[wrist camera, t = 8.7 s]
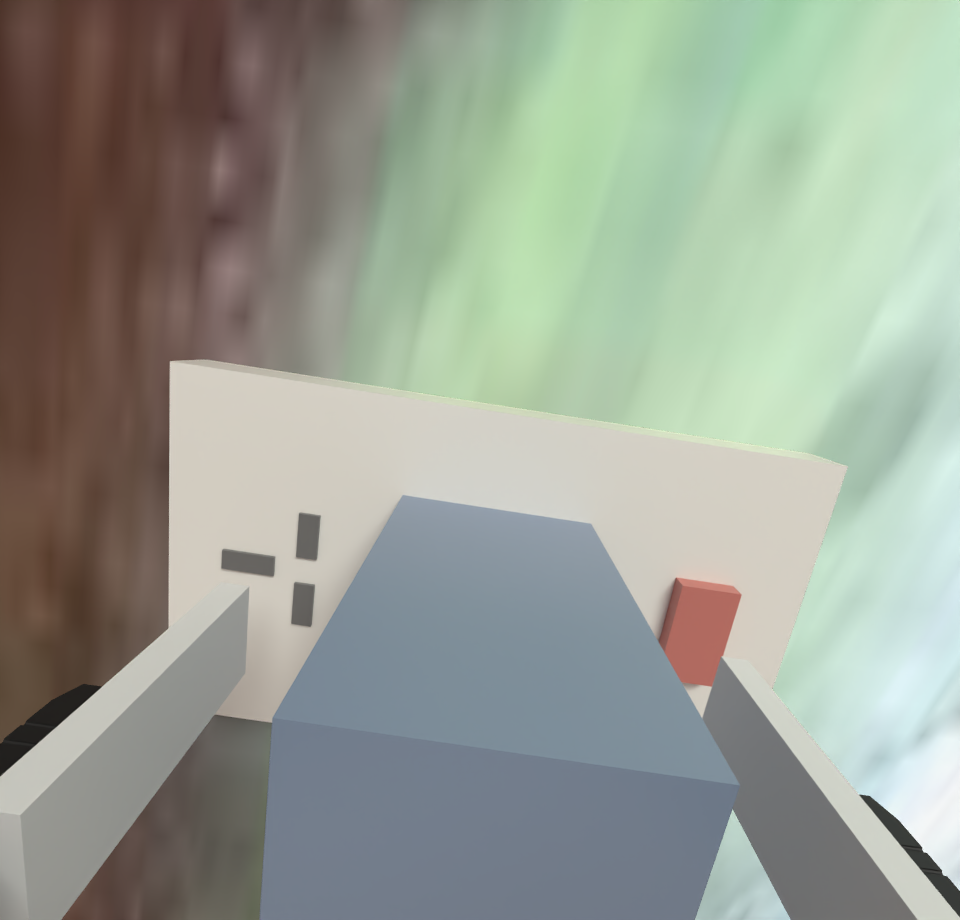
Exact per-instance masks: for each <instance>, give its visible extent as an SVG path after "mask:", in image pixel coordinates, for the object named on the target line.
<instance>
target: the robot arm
mask: <svg viewBox="0 0 960 920" xmlns="http://www.w3.org/2000/svg"><path fill="white" fill-rule="evenodd" d="M248 607H249V586H245V585H238V584H231V583H224V582H221V583H220V584H219V585H218V586H216V587H215V588H214V589H213V590H212V591H211V592H210V593H209V594H207V595H206V596H205V597H204V598H203V599H202V600H201V601H199V602H198V603H197V604H196V605H195V606H194V607H193V608H191V609H190V610H189V611H188V612H187V613H186V614H185V615H183V616H182V617H181V618H180V619H179V620H178V621H177V622H176V623H174V624H173V625H172V626H171V627H170V628H169V629H168V630H166V631H165V632H164V633H163V634H162V635H161V636H160V637H158V638H157V639H156V640H155V641H154V642H153V643H152V644H150V645H149V646H148V647H147V648H146V649H145V650H144V651H143V652H141V653H140V654H139V655H138V656H137V657H136V658H135V659H133V660H132V661H131V662H130V663H129V664H128V665H127V666H125V667H124V668H123V669H122V670H121V671H120V672H119V673H117V674H116V675H115V676H114V677H113V678H112V679H111V680H110V681H108V682H107V683H106V684H105V685H104V686H103V687H100V686H94V685H87V684H83V685H81V686H79V687H77V688H75V689H73V690H71V691H69V692H67V693H65V694H63V695H61V696H59V697H57V698H55V699H53V700H51V701H50V702H49V703H48V704H46V705H45V706H44V707H43V708H42V709H40V710H39V711H38V712H37V713H35V714H34V715H33V716H32V717H30V718H29V719H28V720H27V721H26V723H25V724H24V725H20V726H19V727H18V728H17V729H16V730H14V731H13V732H12V733H11V734H9V735H8V736H7V737H6V738H4V741H3V742H2V743H1V744H0V920H61V919H62V918H63V916H64V915H65V914H66V912H67V911H68V910H69V908H70V907H71V906H72V904H73V903H74V902H75V900H76V899H77V898H78V896H79V895H80V894H81V892H82V891H83V890H84V888H85V887H86V886H87V884H88V883H89V882H90V880H91V879H92V878H93V876H94V875H95V874H96V872H97V871H98V870H99V868H100V867H101V866H102V864H103V863H104V862H105V860H106V859H107V858H108V856H109V855H110V854H111V852H112V851H113V850H114V848H115V847H116V846H117V844H118V843H119V842H120V840H121V839H122V838H123V836H124V835H125V834H126V832H127V831H128V830H129V828H130V827H131V826H132V824H133V823H134V822H135V820H136V819H137V817H138V816H139V815H140V813H141V812H142V811H143V809H144V808H145V807H146V805H147V804H148V803H149V801H150V800H151V799H152V797H153V796H154V795H155V793H156V792H157V791H158V789H159V788H160V787H161V785H162V784H163V783H164V781H165V780H166V779H167V777H168V776H169V775H170V773H171V772H172V771H173V769H174V768H175V767H176V765H177V764H178V763H179V761H180V760H181V759H182V757H183V756H184V755H185V753H186V752H187V751H188V749H189V748H190V747H191V745H192V744H193V743H194V741H195V740H196V739H197V737H198V736H199V735H200V733H201V732H202V731H203V729H204V728H205V727H206V725H207V724H208V723H209V721H210V720H211V719H212V717H213V716H214V715H215V713H216V712H217V711H218V709H219V708H220V707H221V705H222V704H223V702H224V701H225V700H226V698H227V697H228V696H229V694H230V693H231V692H232V690H233V689H234V688H235V686H236V685H237V684H238V682H239V681H240V680H241V678H242V677H243V676H244V674H245V670H246V649H247V628H248ZM702 719H703V721H704V723H705V724H706V726H707V728H708V730H709V731H710V733H711V735H712V737H713V738H714V740H715V742H716V744H717V745H718V747H719V749H720V751H721V753H722V754H723V756H724V758H725V760H726V761H727V763H728V765H729V767H730V768H731V770H732V772H733V774H734V775H735V777H736V779H737V781H738V782H739V784H740V788H739V791H738V794H737V796H736V799H735V802H734V805H733V810H734V812H735V814H736V816H737V818H738V820H739V822H740V824H741V826H742V828H743V829H744V831H745V833H746V835H747V837H748V839H749V841H750V843H751V845H752V847H753V849H754V850H755V852H756V854H757V856H758V858H759V860H760V862H761V864H762V866H763V868H764V869H765V871H766V873H767V875H768V877H769V879H770V881H771V883H772V885H773V887H774V889H775V890H776V892H777V894H778V896H779V898H780V900H781V902H782V904H783V906H784V908H785V909H786V911H787V913H788V915H789V917H790V919H791V920H960V891H959V890H958V889H957V887H956V886H955V885H954V884H953V883H952V882H951V880H950V879H949V878H948V877H947V876H943V874H942V870H941V869H940V868H939V866H938V865H937V864H936V863H935V862H934V861H933V860H932V858H931V857H930V856H929V855H928V854H927V853H924V852H923V851H922V847H921V846H920V844H919V843H918V842H917V841H916V840H915V839H914V837H913V836H912V835H911V834H910V833H909V832H908V831H907V829H906V828H905V827H904V826H903V825H902V824H901V822H900V821H899V820H898V819H896V818H895V817H894V816H893V815H892V814H890V813H889V812H888V811H887V810H886V809H884V808H883V807H882V806H881V805H880V804H878V803H877V802H876V801H875V800H874V799H872V798H871V797H870V796H866V795H859V794H858V793H857V792H856V791H855V789H854V788H853V787H852V786H851V785H850V783H849V782H848V781H847V780H846V779H845V777H844V776H843V775H842V774H841V772H840V771H839V770H838V769H837V768H836V766H835V765H834V764H833V763H832V761H831V760H830V759H829V758H828V757H827V755H826V754H825V753H824V752H823V751H822V749H821V748H820V747H819V746H818V744H817V743H816V742H815V741H814V740H813V738H812V737H811V736H810V735H809V734H808V732H807V731H806V730H805V729H804V727H803V726H802V725H801V724H800V723H799V721H798V720H797V719H796V718H795V716H794V715H793V714H792V713H791V712H790V710H789V709H788V708H787V707H786V706H785V704H784V703H783V702H782V701H781V699H780V698H779V697H778V696H777V695H776V693H775V692H774V691H773V690H772V689H771V687H770V686H769V685H768V684H767V682H766V681H765V680H764V679H763V678H762V676H761V675H760V674H759V673H758V672H757V670H756V669H755V668H754V667H753V665H752V664H751V663H750V662H749V661H748V660H743V659H736V658H729V657H723V656H721V659H720V662H719V665H718V668H717V672H716V675H715V678H714V681H713V685H712V688H711V691H710V695H709V698H708V701H707V704H706V708H705V711H704V714H703V718H702Z"/></svg>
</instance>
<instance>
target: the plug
mask: <svg viewBox="0 0 960 920" xmlns="http://www.w3.org/2000/svg"><path fill="white" fill-rule="evenodd" d="M739 788H740V784H739V782H738V781H737V779H736V777H735V775H734V774H733V772H732V770H731V768H730V767H729V765H728V763H727V761H726V760H725V758H724V756H723V754H722V753H721V751H720V749H719V747H718V745H717V744H716V742H715V740H714V738H713V737H712V735H711V733H710V731H709V730H708V728H707V726H706V724H705V723H704V721H703V719H702V717H701V716H700V714H699V712H698V710H697V709H696V707H695V705H694V703H693V702H692V700H691V698H690V696H689V695H688V693H687V691H686V689H685V688H684V686H683V684H682V682H681V681H680V679H679V677H678V675H677V674H676V672H675V670H674V668H673V667H672V665H671V663H670V661H669V660H668V658H667V656H666V654H665V652H664V651H663V649H662V647H661V645H660V644H659V642H658V640H657V638H656V637H655V635H654V633H653V631H652V630H651V628H650V626H649V624H648V623H647V621H646V619H645V617H644V616H643V614H642V612H641V610H640V609H639V607H638V605H637V603H636V602H635V600H634V598H633V596H632V595H631V593H630V591H629V589H628V588H627V586H626V584H625V582H624V581H623V579H622V577H621V575H620V574H619V572H618V570H617V568H616V567H615V565H614V563H613V561H612V559H611V558H610V556H609V554H608V552H607V551H606V549H605V547H604V545H603V544H602V542H601V540H600V538H599V537H598V535H597V533H596V531H595V530H594V528H593V526H592V524H590V523H583V522H577V521H570V520H563V519H557V518H550V517H544V516H537V515H531V514H524V513H517V512H511V511H504V510H498V509H491V508H485V507H478V506H471V505H465V504H458V503H452V502H445V501H439V500H432V499H425V498H419V497H412V496H406V495H403V496H402V497H401V499H400V501H399V502H398V504H397V506H396V508H395V509H394V511H393V513H392V514H391V516H390V518H389V519H388V521H387V523H386V525H385V526H384V528H383V530H382V531H381V533H380V535H379V537H378V538H377V540H376V542H375V543H374V545H373V547H372V549H371V550H370V552H369V554H368V555H367V557H366V559H365V560H364V562H363V564H362V566H361V567H360V569H359V571H358V572H357V574H356V576H355V578H354V579H353V581H352V583H351V584H350V586H349V588H348V589H347V591H346V593H345V595H344V596H343V598H342V600H341V601H340V603H339V605H338V607H337V608H336V610H335V612H334V613H333V615H332V617H331V619H330V620H329V622H328V624H327V625H326V627H325V629H324V630H323V632H322V634H321V636H320V637H319V639H318V641H317V642H316V644H315V646H314V648H313V649H312V651H311V653H310V654H309V656H308V658H307V660H306V661H305V663H304V665H303V666H302V668H301V670H300V671H299V673H298V675H297V677H296V678H295V680H294V682H293V683H292V685H291V687H290V689H289V690H288V692H287V694H286V695H285V697H284V699H283V701H282V702H281V704H280V706H279V707H278V709H277V711H276V712H275V714H274V716H273V718H272V731H271V747H270V763H269V779H268V794H267V810H266V826H265V841H264V857H263V873H262V889H261V904H260V920H695V917H696V915H697V912H698V909H699V906H700V903H701V900H702V897H703V894H704V891H705V888H706V885H707V882H708V879H709V876H710V873H711V870H712V867H713V864H714V861H715V858H716V855H717V853H718V850H719V847H720V844H721V841H722V838H723V835H724V832H725V829H726V826H727V823H728V820H729V817H730V814H731V811H732V808H733V805H734V802H735V799H736V796H737V794H738V791H739Z"/></svg>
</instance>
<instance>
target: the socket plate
mask: <svg viewBox="0 0 960 920" xmlns="http://www.w3.org/2000/svg"><path fill="white" fill-rule="evenodd" d="M847 468H848V466H845V465H842V464H839V463H836V462H833V461H830V460H827V459H824V458H821V457H818V456H815V455H813V454H810V453H804V452H798V451H791V450H785V449H779V448H772V447H766V446H759V445H753V444H746V443H740V442H734V441H727V440H721V439H714V438H708V437H701V436H695V435H689V434H682V433H676V432H669V431H663V430H656V429H650V428H644V427H637V426H631V425H624V424H618V423H611V422H605V421H598V420H592V419H586V418H579V417H573V416H566V415H560V414H553V413H547V412H541V411H534V410H528V409H521V408H515V407H508V406H502V405H496V404H489V403H483V402H476V401H470V400H463V399H457V398H451V397H444V396H438V395H431V394H425V393H418V392H412V391H406V390H399V389H393V388H386V387H380V386H373V385H367V384H361V383H354V382H348V381H341V380H335V379H328V378H322V377H315V376H309V375H303V374H296V373H290V372H283V371H277V370H270V369H264V368H258V367H251V366H245V365H238V364H232V363H225V362H219V361H213V360H206V359H205V360H184V361H170V450H169V628H170V627H171V626H172V625H173V624H174V623H176V622H177V621H178V620H179V619H180V618H181V617H182V616H183V615H185V614H186V613H187V612H188V611H189V610H190V609H191V608H193V607H194V606H195V605H196V604H197V603H198V602H199V601H201V600H202V599H203V598H204V597H205V596H206V595H207V594H209V593H210V592H211V591H212V590H213V589H214V588H215V587H216V586H218V585H219V584H220V583H221V582H224V583H231V584H238V585H245V586H249V607H248V628H247V649H246V670H245V674H244V676H243V677H242V678H241V680H240V681H239V682H238V684H237V685H236V686H235V688H234V689H233V690H232V692H231V693H230V694H229V696H228V697H227V698H226V700H225V701H224V702H223V704H222V705H221V707H220V708H219V709H218V711H217V712H216V713H215V715H222V716H229V717H236V718H243V719H250V720H257V721H263V722H270V723H272V718H273V716H274V714H275V712H276V711H277V709H278V707H279V706H280V704H281V702H282V701H283V699H284V697H285V695H286V694H287V692H288V690H289V689H290V687H291V685H292V683H293V682H294V680H295V678H296V677H297V675H298V673H299V671H300V670H301V668H302V666H303V665H304V663H305V661H306V660H307V658H308V656H309V654H310V653H311V651H312V649H313V648H314V646H315V644H316V642H317V641H318V639H319V637H320V636H321V634H322V632H323V630H324V629H325V627H326V625H327V624H328V622H329V620H330V619H331V617H332V615H333V613H334V612H335V610H336V608H337V607H338V605H339V603H340V601H341V600H342V598H343V596H344V595H345V593H346V591H347V589H348V588H349V586H350V584H351V583H352V581H353V579H354V578H355V576H356V574H357V572H358V571H359V569H360V567H361V566H362V564H363V562H364V560H365V559H366V557H367V555H368V554H369V552H370V550H371V549H372V547H373V545H374V543H375V542H376V540H377V538H378V537H379V535H380V533H381V531H382V530H383V528H384V526H385V525H386V523H387V521H388V519H389V518H390V516H391V514H392V513H393V511H394V509H395V508H396V506H397V504H398V502H399V501H400V499H401V497H402V496H403V495H406V496H412V497H419V498H425V499H432V500H439V501H445V502H452V503H458V504H465V505H471V506H478V507H485V508H491V509H498V510H504V511H511V512H517V513H524V514H531V515H537V516H544V517H550V518H557V519H563V520H570V521H577V522H583V523H590V524H592V526H593V528H594V530H595V531H596V533H597V535H598V537H599V538H600V540H601V542H602V544H603V545H604V547H605V549H606V551H607V552H608V554H609V556H610V558H611V559H612V561H613V563H614V565H615V567H616V568H617V570H618V572H619V574H620V575H621V577H622V579H623V581H624V582H625V584H626V586H627V588H628V589H629V591H630V593H631V595H632V596H633V598H634V600H635V602H636V603H637V605H638V607H639V609H640V610H641V612H642V614H643V616H644V617H645V619H646V621H647V623H648V624H649V626H650V628H651V630H652V631H653V633H654V635H655V637H656V638H657V640H658V642H659V644H660V645H661V647H662V649H663V651H664V652H665V654H666V656H667V658H668V660H669V661H670V663H671V665H672V667H673V668H674V670H675V672H676V674H677V675H678V677H679V679H680V681H681V682H682V684H683V686H684V688H685V689H686V691H687V693H688V695H689V696H690V698H691V700H692V702H693V703H694V705H695V707H696V709H697V710H698V712H699V714H700V716H701V717H702V718H703V714H704V711H705V708H706V704H707V701H708V698H709V695H710V691H711V688H712V685H713V681H714V678H715V675H716V672H717V668H718V665H719V662H720V659H721V656H723V657H729V658H736V659H743V660H748V661H749V662H750V663H751V664H752V665H753V667H754V668H755V669H756V670H757V672H758V673H759V674H760V675H761V676H762V678H763V679H764V680H765V681H766V682H767V684H768V685H769V686H770V687H771V689H773V686H774V683H775V680H776V677H777V674H778V671H779V669H780V666H781V663H782V660H783V657H784V654H785V651H786V648H787V645H788V642H789V639H790V636H791V633H792V630H793V627H794V624H795V621H796V618H797V615H798V612H799V609H800V607H801V604H802V601H803V598H804V595H805V592H806V589H807V586H808V583H809V580H810V577H811V574H812V571H813V568H814V565H815V562H816V559H817V556H818V553H819V550H820V547H821V545H822V542H823V539H824V536H825V533H826V530H827V527H828V524H829V521H830V518H831V515H832V512H833V509H834V506H835V503H836V500H837V497H838V494H839V491H840V488H841V485H842V483H843V480H844V477H845V474H846V471H847Z"/></svg>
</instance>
